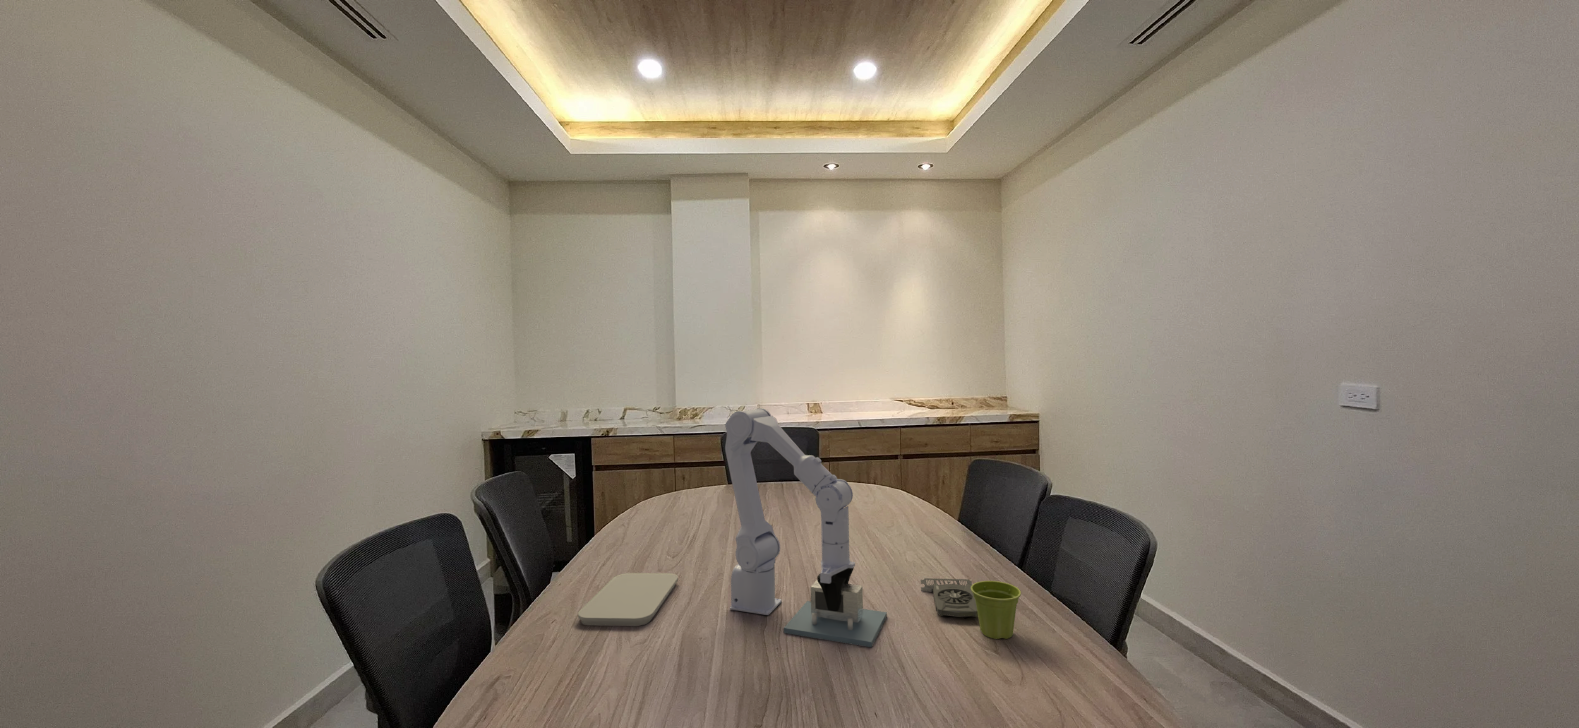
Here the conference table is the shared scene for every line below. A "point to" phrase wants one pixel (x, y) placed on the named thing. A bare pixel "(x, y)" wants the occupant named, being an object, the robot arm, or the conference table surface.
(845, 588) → the beige rectangular block
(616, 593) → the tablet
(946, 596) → the graphics card
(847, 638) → the tray
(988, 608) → the plant pot
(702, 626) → the conference table surface
